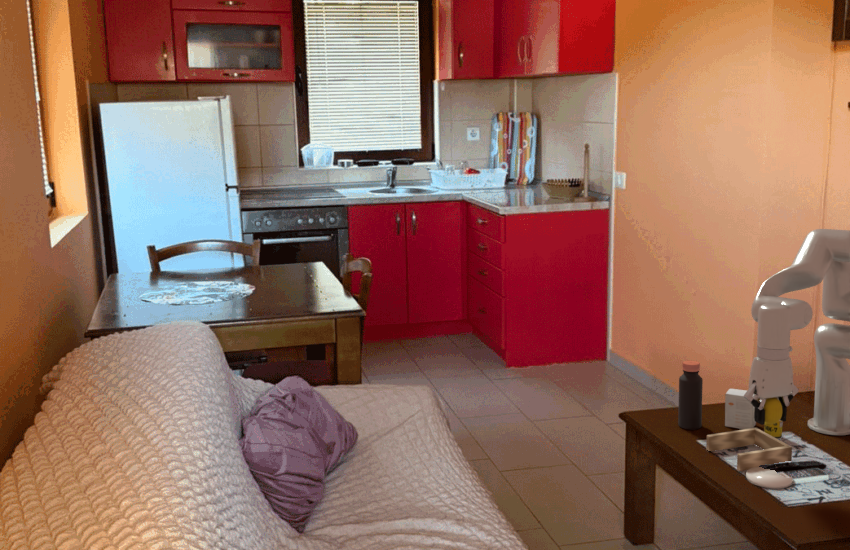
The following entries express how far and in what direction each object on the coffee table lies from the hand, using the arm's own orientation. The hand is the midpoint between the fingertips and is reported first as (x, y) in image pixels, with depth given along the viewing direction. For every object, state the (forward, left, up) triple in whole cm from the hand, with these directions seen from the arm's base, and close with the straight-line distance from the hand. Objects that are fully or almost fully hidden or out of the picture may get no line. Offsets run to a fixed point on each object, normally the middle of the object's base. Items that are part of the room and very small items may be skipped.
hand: (770, 420), depth 207 cm
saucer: (0, +1, -16) cm, 16 cm away
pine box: (-4, -13, -16) cm, 21 cm away
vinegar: (-2, -38, -16) cm, 42 cm away
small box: (-16, -33, -16) cm, 40 cm away
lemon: (0, 0, -1) cm, 1 cm away
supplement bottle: (-19, -22, -16) cm, 33 cm away
